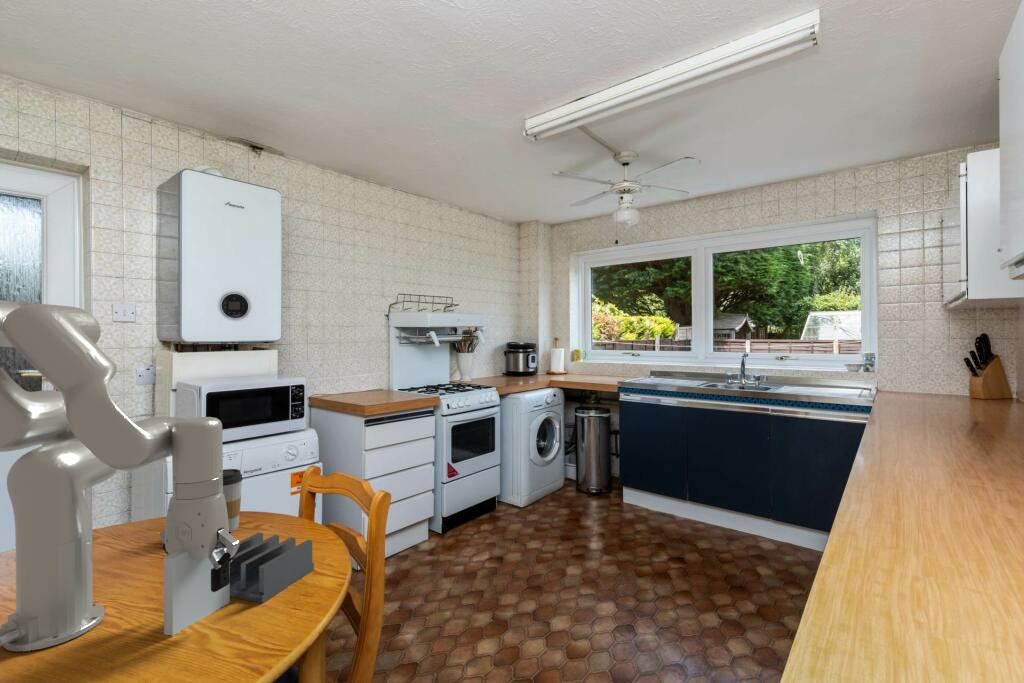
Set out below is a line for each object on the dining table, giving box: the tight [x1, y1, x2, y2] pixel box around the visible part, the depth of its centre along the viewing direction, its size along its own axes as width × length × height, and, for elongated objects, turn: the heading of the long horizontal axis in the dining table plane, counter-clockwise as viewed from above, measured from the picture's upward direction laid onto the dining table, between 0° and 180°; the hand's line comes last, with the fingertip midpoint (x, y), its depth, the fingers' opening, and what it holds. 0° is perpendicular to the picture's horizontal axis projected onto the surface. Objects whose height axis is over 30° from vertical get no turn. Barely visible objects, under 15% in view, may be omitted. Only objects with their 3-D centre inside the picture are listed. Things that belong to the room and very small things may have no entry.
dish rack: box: [229, 532, 315, 604], centre depth 99 cm, size 14×14×6 cm
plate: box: [163, 548, 231, 636], centre depth 86 cm, size 11×2×13 cm, turn 162°
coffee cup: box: [222, 468, 244, 533], centre depth 126 cm, size 8×8×15 cm
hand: (199, 584), depth 86 cm, fingers open, 9 cm apart
